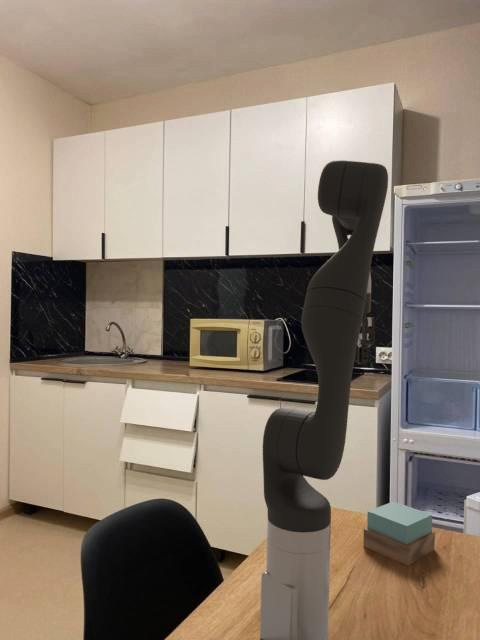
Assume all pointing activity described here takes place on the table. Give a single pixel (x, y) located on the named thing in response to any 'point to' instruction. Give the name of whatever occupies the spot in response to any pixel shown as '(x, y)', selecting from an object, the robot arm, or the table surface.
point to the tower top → (399, 522)
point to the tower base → (399, 546)
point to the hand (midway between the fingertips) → (352, 362)
